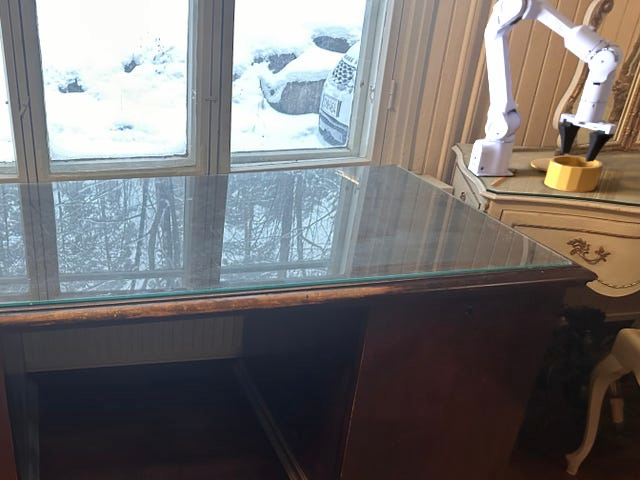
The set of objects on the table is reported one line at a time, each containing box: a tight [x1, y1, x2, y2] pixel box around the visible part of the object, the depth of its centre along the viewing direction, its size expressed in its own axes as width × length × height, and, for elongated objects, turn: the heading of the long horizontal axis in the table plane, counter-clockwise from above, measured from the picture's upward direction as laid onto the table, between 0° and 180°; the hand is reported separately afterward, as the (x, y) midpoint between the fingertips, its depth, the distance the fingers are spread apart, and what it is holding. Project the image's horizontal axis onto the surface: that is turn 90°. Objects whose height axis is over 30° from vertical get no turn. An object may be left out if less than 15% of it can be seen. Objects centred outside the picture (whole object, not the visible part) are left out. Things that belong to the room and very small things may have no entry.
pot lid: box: [530, 148, 565, 172], centre depth 186 cm, size 13×13×5 cm
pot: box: [544, 155, 604, 193], centre depth 173 cm, size 12×12×6 cm
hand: (577, 157), depth 171 cm, fingers open, 7 cm apart
